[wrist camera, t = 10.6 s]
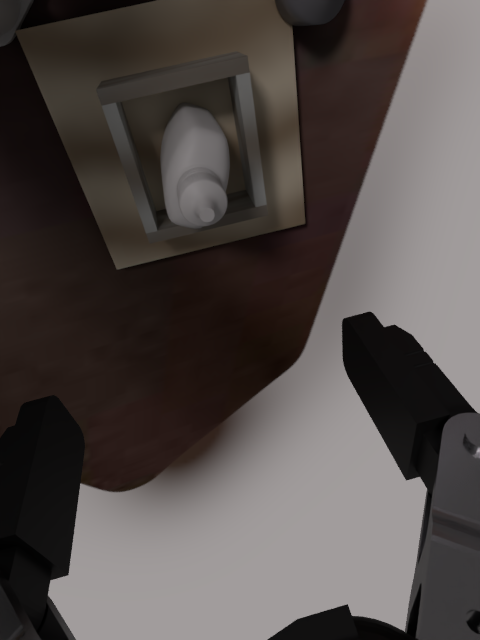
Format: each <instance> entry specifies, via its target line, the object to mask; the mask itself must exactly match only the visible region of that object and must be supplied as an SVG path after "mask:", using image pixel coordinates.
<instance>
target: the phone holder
mask: <svg viewBox="0 0 480 640" xmlns="http://www.w3.org/2000/svg"><path fill="white" fill-rule="evenodd" d="M33 2H34V0H0V47H1V46H5V45H7V44H9V43H11V42H12V41H13V40H14V38H15V37H16V32H15V31H17V30H19V29H20V27H21V25H22V23H23V21H24V19H25V17H26V15H27V13H28V11H29V9H30V7H31V6H32V4H33Z"/></svg>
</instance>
